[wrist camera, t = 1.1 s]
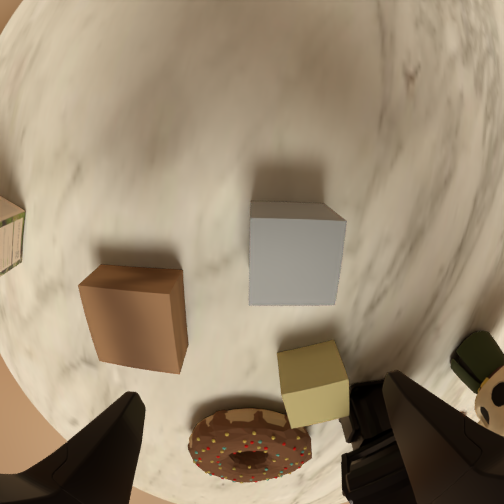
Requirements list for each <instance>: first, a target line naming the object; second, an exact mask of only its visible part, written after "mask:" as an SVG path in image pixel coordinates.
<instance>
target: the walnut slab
mask: <svg viewBox="0 0 504 504" xmlns="http://www.w3.org/2000/svg"><path fill="white" fill-rule="evenodd" d="M78 287H79V292H80V296H81V300H82V304H83V308H84V312H85V316H86V319H87V323H88V326H89V330H90V333H91V336H92V340H93V343H94V346H95V349H96V352H97V355H98V358H99V361H102V362H107V363H112V364H117V365H122V366H127V367H133V368H139V369H145V370H151V371H158V372H166V373H173V374H180V372H181V368H182V365H183V361H184V358H185V355H186V351H187V348H188V334H187V323H186V312H185V299H184V284H183V270H177V269H161V268H145V267H130V266H115V265H102V264H101V265H100V266H99V267H98V268H97V269H96V270H94V271H93V272H92V273H91V274H90V275H89V276H88V277H87V278H85V279H84V280H83V281H82V282H81V283H80V284H79V285H78Z"/></svg>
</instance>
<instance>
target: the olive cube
mask: <svg viewBox="0 0 504 504" xmlns="http://www.w3.org/2000/svg"><path fill="white" fill-rule="evenodd" d="M277 357H278V367H279V377H280V386H281V395H282V399H283V402H284V405H285V409H286V412H287V415H288V419H289V422H290V425H291V429H293V428H298V427H303V426H308V425H313V424H317V423H322V422H326V421H330V420H334V419H338V418H342V417H345V416H349V379H348V376H347V373H346V371H345V368H344V365H343V362H342V360H341V357H340V354H339V352H338V349H337V347H336V344H335V341H334V340H330V341H327V342H323V343H319V344H314V345H310V346H306V347H302V348H297V349H293V350H288V351H283V352H278V353H277Z"/></svg>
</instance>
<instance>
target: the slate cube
mask: <svg viewBox="0 0 504 504" xmlns="http://www.w3.org/2000/svg"><path fill="white" fill-rule="evenodd" d="M346 223H347V221H346V220H345V219H343V218H342V217H341V216H340V215H338V214H337V213H336V212H335V211H333V210H332V209H331V208H329V207H328V206H327V205H325V204H323V203H301V202H272V201H251V209H250V256H249V305H253V306H319V305H335V301H336V296H337V290H338V283H339V277H340V270H341V263H342V256H343V248H344V240H345V232H346Z"/></svg>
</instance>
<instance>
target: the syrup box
mask: <svg viewBox="0 0 504 504" xmlns="http://www.w3.org/2000/svg"><path fill="white" fill-rule="evenodd" d="M24 218H25V211H24V210H23V209H21V208H20V207H18V206H17V205H15V204H13V203H12V202H10V201H8V200H6V199H5V198H3V197H1V196H0V277H1V276H2V275H3V274H5V273H6V272H8V271H9V270H11V269H12V268H14V267H15V266H17V265H18V264H20V263H21V260H22V239H23V227H24Z"/></svg>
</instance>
